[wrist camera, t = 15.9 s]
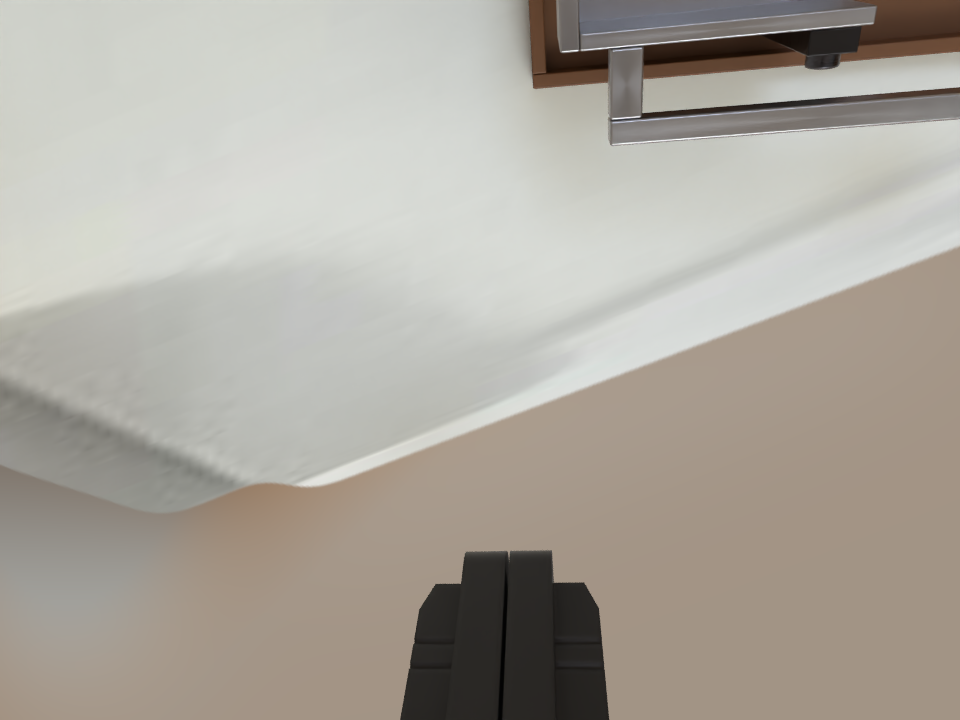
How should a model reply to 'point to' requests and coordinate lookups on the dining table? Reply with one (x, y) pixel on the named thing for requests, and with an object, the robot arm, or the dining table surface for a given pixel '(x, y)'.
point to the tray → (745, 45)
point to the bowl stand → (821, 44)
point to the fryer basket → (714, 15)
